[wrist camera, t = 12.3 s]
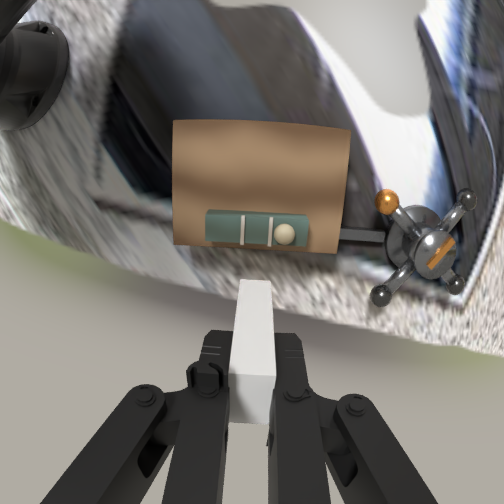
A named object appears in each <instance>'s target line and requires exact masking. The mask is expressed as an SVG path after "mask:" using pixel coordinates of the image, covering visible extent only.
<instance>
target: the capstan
mask: <svg viewBox="0 0 504 504" xmlns="http://www.w3.org/2000/svg"><path fill="white" fill-rule="evenodd" d="M476 204H477V197H476V194H475V193H474V192H473V191H472V190H471V189H469V188H464V189H462V190H460V191H459V192H458V194H457V202H456V203H455V204H454V206H453V207H452V208H451V209H450V210H449V212H448V213H447V214H446V215H445V217H444V218H443V219H442V220H441V221H440V222H439V224H438V225H437V226H436V227H435V228H433V227H431V226H430V225H428V224H426V223H424V222H417V223H415V222H414V221H413V219H412V218H411V217H410V216H409V215H408V214H407V212H406V211H405V210H404V209H403V208H402V207H401V206H400V205H399V198H398V196H397V194H396V193H395V192H394V191H392V190H390V189H383V190H381V191H379V192H378V193H377V195H376V197H375V206H376V208H377V210H378V211H379V212H380V213H382V214H384V215H389V216H390V217H391V218H392V219H393V220H394V221H395V222H396V223H397V225H398V226H399V227H400V228H401V229H402V230H403V231H404V232H405V233H404V235H403V238H402V250H403V252H404V254H405V255H406V256H407V257H408V259H407V260H406V261H405V262H404V263H403V264H402V265H401V266H400V267H399V268H398V269H397V270H396V271H395V272H394V273H393V274H392V275H391V276H390V278H389V279H388V280H387V281H386V282H385V283H384V284H379V285H376V286H375V287H374V288H373V289H372V290H371V293H370V300H371V302H372V303H373V304H374V305H375V306H377V307H385V306H387V305H388V304H389V303H390V301H391V299H392V294H393V293H394V292H395V291H396V290H397V289H398V288H399V287H400V286H401V285H402V284H403V283H404V282H405V281H406V280H407V279H408V278H409V277H410V276H411V275H412V273H413V272H414V271H415V270H417V272H418V273H419V274H420V275H421V276H423V277H424V278H426V279H436V278H439V277H442V278H443V279H444V281H445V282H446V289H447V291H448V292H449V293H450V294H452V295H458V294H460V293H461V292H462V291H463V289H464V280H463V278H462V277H461V276H460V275H458V274H455V273H454V272H453V270H452V269H451V268H450V267H451V266H452V264H453V262H454V260H455V256H456V243H455V241H454V239H453V237H452V236H451V235H450V234H449V232H450V231H451V230H452V228H453V227H454V226H455V225H456V224H457V222H458V221H459V220H460V219H461V217H462V216H463V215H464V214H465V212H466V211H471V210H472V209H474V208H475V206H476Z"/></svg>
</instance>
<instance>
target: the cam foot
mask: <svg viewBox="0 0 504 504" xmlns="http://www.w3.org/2000/svg"><path fill="white" fill-rule="evenodd" d="M404 210H405V211H406V212H407V214H408V215H409V216H410V217H411V218H412V219H413V221H414V222H415V223H417V222H424V223H426V224H428V225H430V226H431V227H433V228H435V227H436V226H437V225H438V224H439V222H440V221H441V220H440V218H439V217H438V215H437V214H436V213H435V212H434V211H432V210H430V209H429V208H427V207H424V206H421V205H412V206H408V207H406V208H404ZM404 233H405V232H404V231H403V230H402V229H401V228H400V227H399V226H398V225H397V223H396V222H395V221H394V220H393V219H392V220H391V221H390V223H389V225H388V227H387V230H386V234H385V231H384V230H382V229H371V228H359V227H347V226H341V227H340V234H339V239H346V240H360V241H374V242H384V238H385V249H386V252H387V255H388V256H389V258H390V259H391V261H392V262H393V263H394V264H395V265H396V266H397V267H400V266H401V265H402V264H403V263H404V262H405V261H406V260H407V259H408V257H407V256H406V255H405V254H404V252H403V250H402V238H403V235H404Z"/></svg>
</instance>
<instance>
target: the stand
mask: <svg viewBox="0 0 504 504" xmlns="http://www.w3.org/2000/svg"><path fill="white" fill-rule="evenodd" d="M350 137H351V130H346V129H339V128H331V127H323V126H315V125H305V124H295V123H283V122H269V121H251V120H215V119H197V120H173V144H172V206H173V239H174V245H190V246H208V247H226V248H244V249H262V250H280V251H297V252H315V253H332V254H337V247H338V241H339V234H340V227H341V220H342V213H343V205H344V197H345V189H346V180H347V170H348V160H349V149H350Z"/></svg>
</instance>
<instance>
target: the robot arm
mask: <svg viewBox="0 0 504 504" xmlns="http://www.w3.org/2000/svg"><path fill="white" fill-rule="evenodd" d="M36 1H37V0H0V129H1V130H8V131H10V130H20V129H24V128H27V127H29V126H31V125H33V124H34V123H36V122H37V121H38V120H39V119H40V118H42V117H43V115H44V114H45V113H46V112H47V111H48V110H49V108H50V107H51V105H52V104H53V102H54V101H55V99H56V97H57V95H58V93H59V91H60V89H61V86H62V84H63V81H64V77H65V74H66V70H67V64H68V46H67V41H66V38H65V36H64V34H63V32H62V31H61V30H60V29H59V28H58V27H56V26H54V25H52V24H49V23H46V22H43V21H30V22H22V23H18V21H19V20H20V19H21V18H22V17H23V16H24V14H25V13H26V12H27V11H28V10H29V9H30V8H31V6H32V5H33V4H34V3H35V2H36ZM186 375H187V383H188V387H187V388H185V389H183V390H181V391H175V392H167V393H163V391H162V390H161V389H160V388H158V387H156V386H154V385H149V384H144V385H139V386H136V387H134V388H132V389H131V390H130V391H129V392H128V393H127V394H126V396H125V397H124V398H123V399H122V401H121V402H120V403H119V405H118V406H117V407H116V408H115V409H114V411H113V412H112V413H111V414H110V416H109V417H108V418H107V419H106V421H105V422H104V423H103V424H102V426H101V427H100V428H99V429H98V431H97V432H96V433H95V434H94V436H93V437H92V438H91V440H90V441H89V442H88V443H87V445H86V446H85V447H84V448H83V450H82V451H81V452H80V453H79V455H78V456H77V457H76V459H75V460H74V461H73V462H72V464H71V465H70V466H69V467H68V469H67V470H66V471H65V472H64V474H63V475H62V476H61V477H60V479H59V480H58V481H57V483H56V484H55V485H54V487H53V488H52V489H51V490H50V491H49V493H48V494H47V495H46V497H45V498H44V499H43V501H42V502H41V503H40V504H140V503H141V501H142V499H143V498H144V496H145V494H146V493H147V491H148V489H149V487H150V486H151V484H152V482H153V481H154V479H155V477H156V476H157V474H158V472H159V470H160V469H161V467H162V465H163V464H164V462H165V460H166V458H167V457H168V455H169V453H170V451H171V450H172V448H173V446H174V450H173V454H172V459H171V463H170V468H169V472H168V476H167V481H166V486H165V490H164V495H163V500H162V504H222V495H223V485H224V474H225V463H226V451H227V441H228V423H229V422H234V423H252V424H269V434H268V440H267V445H266V446H268V495H269V496H268V500H269V501H268V504H331V500H330V493H329V485H328V478H327V471H326V464H327V466H328V469H329V471H330V473H331V475H332V477H333V480H334V482H335V484H336V486H337V488H338V490H339V492H340V494H341V497H342V499H343V501H344V503H345V504H438V503H437V501H436V500H435V498H434V496H433V495H432V493H431V492H430V490H429V489H428V487H427V485H426V484H425V482H424V481H423V479H422V478H421V476H420V475H419V473H418V471H417V470H416V468H415V467H414V465H413V464H412V462H411V461H410V459H409V457H408V456H407V454H406V453H405V451H404V450H403V448H402V447H401V445H400V444H399V442H398V441H397V439H396V438H395V436H394V434H393V433H392V432H391V430H390V428H389V427H388V425H387V424H386V422H385V421H384V419H383V418H382V416H381V415H380V413H379V412H378V410H377V409H376V407H375V406H374V404H373V403H372V402H371V401H370V400H369V399H368V398H367V397H365V396H363V395H359V394H348V395H345V396H343V397H341V399H340V400H339V401H336V400H331V399H327V398H324V397H321V396H319V395H317V394H316V393H315V392H313V390H312V389H311V388H310V386H309V383H308V378H307V372H306V365H305V360H304V354H303V348H302V343H301V340H300V339H299V338H298V336H297V335H296V334H295V333H274V328H273V311H272V295H271V281H264V280H246V279H240V285H239V293H238V301H237V309H236V317H235V325H234V331H221V330H211V331H210V332H209V333H208V334H207V335H206V336H205V338H204V342H203V347H202V350H201V354H200V358H199V361H197V362H194V363H193V364H191V365H190V366H189V367H188V369H187V370H186ZM325 462H326V464H325Z"/></svg>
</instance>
